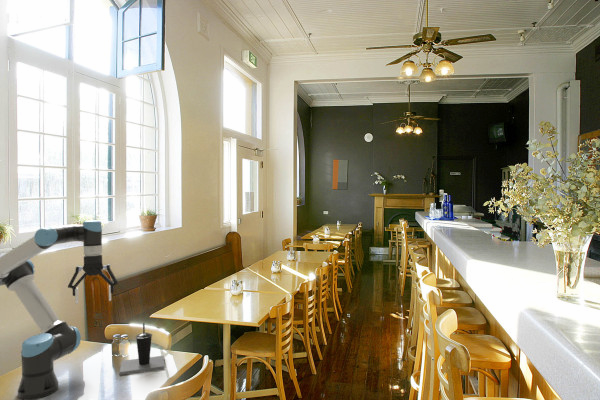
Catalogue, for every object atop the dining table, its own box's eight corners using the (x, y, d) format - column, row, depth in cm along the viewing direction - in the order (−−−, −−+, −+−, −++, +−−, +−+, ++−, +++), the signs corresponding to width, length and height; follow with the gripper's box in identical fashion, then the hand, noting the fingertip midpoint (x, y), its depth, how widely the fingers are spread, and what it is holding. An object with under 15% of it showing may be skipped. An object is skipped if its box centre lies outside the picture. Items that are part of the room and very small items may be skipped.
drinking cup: (148, 366, 207) (148, 325, 206) (133, 366, 207) (132, 325, 207) (154, 360, 214) (154, 320, 214) (139, 360, 215) (139, 320, 214)
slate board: (119, 375, 201) (119, 372, 201) (121, 363, 214) (121, 360, 214) (164, 369, 207) (164, 366, 207) (163, 358, 220) (163, 355, 220)
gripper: (60, 257, 185) (60, 306, 185) (122, 254, 193) (122, 301, 193) (63, 255, 192) (64, 301, 192) (123, 252, 200) (124, 297, 200)
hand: (93, 301), depth 193 cm, fingers open, 13 cm apart
